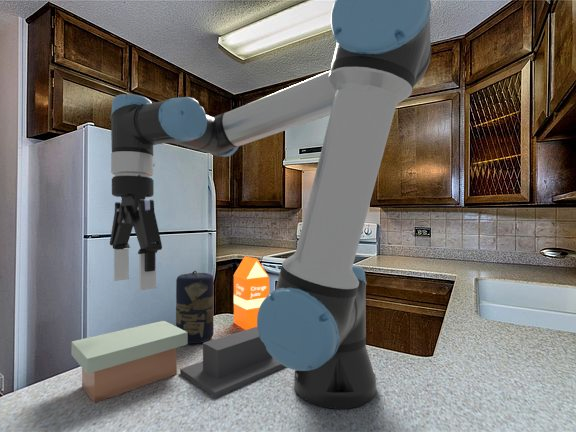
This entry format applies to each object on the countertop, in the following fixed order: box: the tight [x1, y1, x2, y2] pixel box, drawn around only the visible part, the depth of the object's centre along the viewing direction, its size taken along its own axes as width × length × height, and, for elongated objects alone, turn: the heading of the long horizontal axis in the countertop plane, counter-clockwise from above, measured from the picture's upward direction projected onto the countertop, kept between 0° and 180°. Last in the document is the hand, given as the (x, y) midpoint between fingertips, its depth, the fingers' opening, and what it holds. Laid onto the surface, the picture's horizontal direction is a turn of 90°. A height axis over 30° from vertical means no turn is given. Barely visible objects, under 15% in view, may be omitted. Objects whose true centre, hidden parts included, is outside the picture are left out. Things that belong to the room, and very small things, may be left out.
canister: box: [175, 270, 215, 344], centre depth 87 cm, size 10×10×18 cm
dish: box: [81, 347, 178, 404], centre depth 65 cm, size 8×15×6 cm, turn 135°
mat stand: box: [179, 327, 286, 399], centre depth 70 cm, size 13×20×6 cm, turn 135°
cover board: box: [71, 320, 189, 374], centre depth 65 cm, size 11×18×2 cm, turn 135°
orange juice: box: [233, 256, 270, 331], centre depth 99 cm, size 8×9×20 cm
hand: (133, 284), depth 65 cm, fingers open, 13 cm apart
